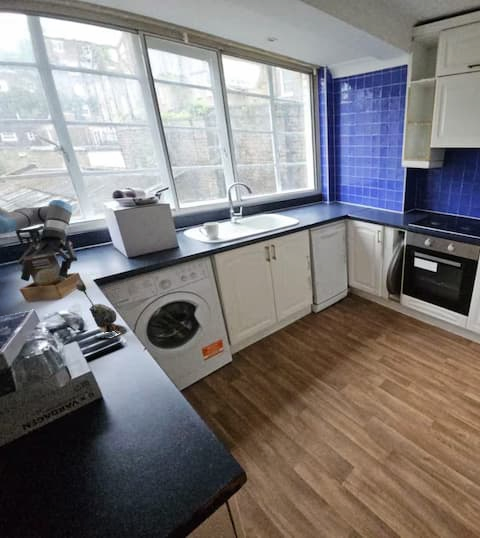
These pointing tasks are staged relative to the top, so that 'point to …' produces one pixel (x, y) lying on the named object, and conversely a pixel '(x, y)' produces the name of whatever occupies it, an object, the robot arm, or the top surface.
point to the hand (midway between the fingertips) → (43, 278)
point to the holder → (30, 237)
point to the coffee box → (44, 269)
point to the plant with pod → (102, 314)
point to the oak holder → (50, 289)
